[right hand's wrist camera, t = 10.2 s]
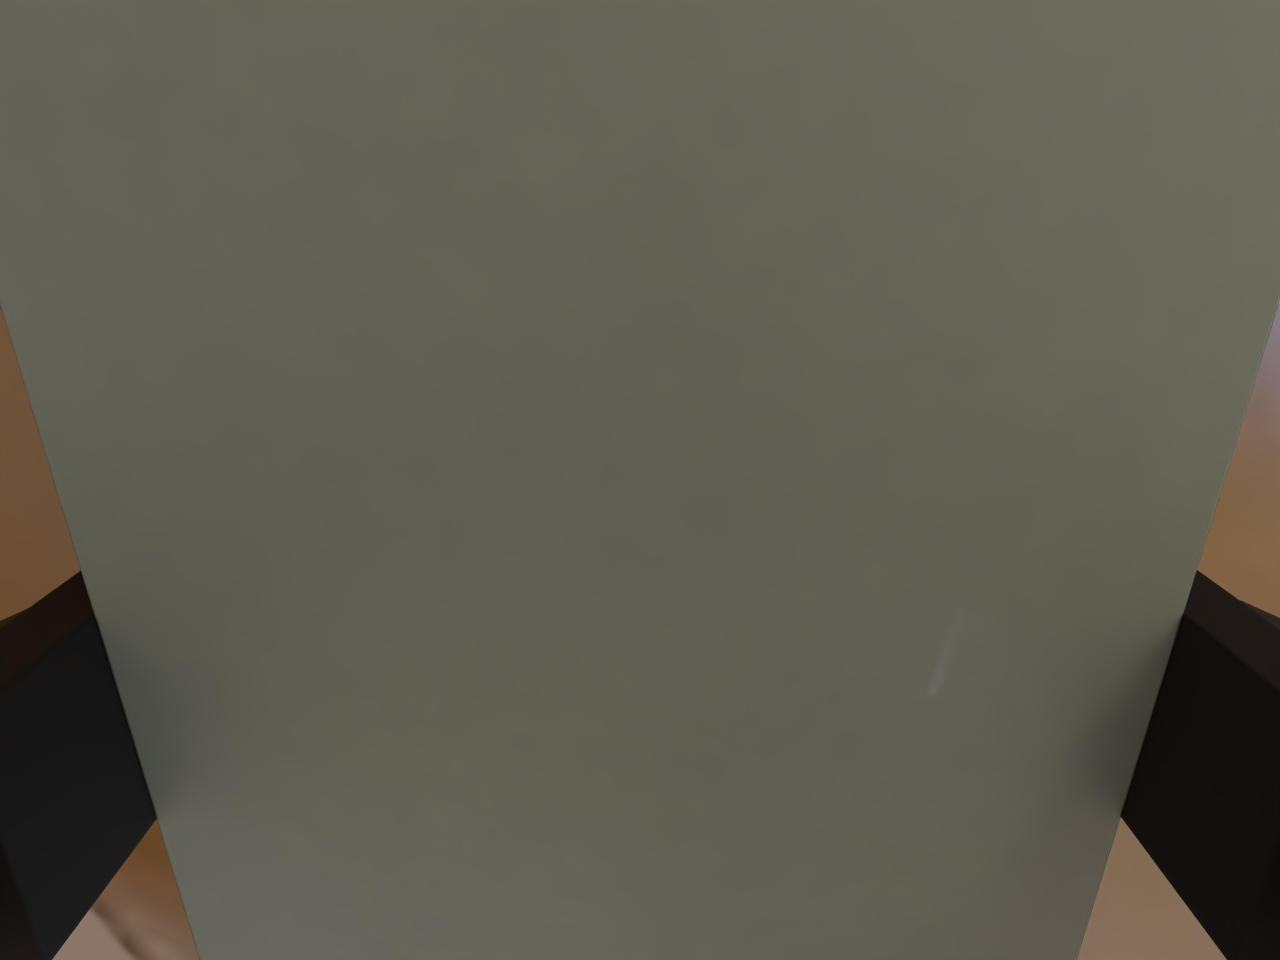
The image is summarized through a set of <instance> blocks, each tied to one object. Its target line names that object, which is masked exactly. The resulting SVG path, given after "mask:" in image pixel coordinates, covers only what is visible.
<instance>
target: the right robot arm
mask: <svg viewBox="0 0 1280 960" xmlns="http://www.w3.org/2000/svg"><path fill="white" fill-rule="evenodd" d="M1121 817H1122V819H1123V820H1124V822H1125V823H1126V824H1127V826H1128V827H1129V828H1130V830H1131V831H1132V832H1133V834H1134V835H1135V836H1136V838H1137V839H1138V840H1139V842H1140V843H1141V844H1142V846H1143V847H1144V848H1145V850H1146V851H1147V853H1148V854H1149V855H1150V857H1151V858H1152V859H1153V861H1154V862H1155V863H1156V865H1157V866H1158V867H1159V869H1160V870H1161V871H1162V873H1163V874H1164V875H1165V877H1166V878H1167V879H1168V881H1169V882H1170V883H1171V885H1172V886H1173V888H1174V889H1175V890H1176V892H1177V893H1178V894H1179V896H1180V897H1181V898H1182V900H1183V901H1184V902H1185V904H1186V905H1187V906H1188V908H1189V909H1190V910H1191V912H1192V913H1193V914H1194V916H1195V917H1196V919H1197V920H1198V921H1199V923H1200V924H1201V925H1202V927H1203V928H1204V929H1205V931H1206V932H1207V933H1208V935H1209V936H1210V937H1211V939H1212V940H1213V941H1214V943H1215V944H1216V945H1217V947H1218V948H1219V949H1220V951H1221V952H1222V954H1223V955H1224V956H1225V958H1226V959H1227V960H1280V618H1278V617H1276V616H1274V615H1272V614H1270V613H1267V612H1265V611H1263V610H1261V609H1259V608H1256V607H1254V606H1252V605H1250V604H1248V603H1245V602H1243V601H1239V600H1238V599H1237V598H1235V597H1234V596H1233V595H1231V594H1230V593H1228V592H1227V591H1226V590H1224V589H1223V588H1221V587H1220V586H1219V585H1217V584H1216V583H1214V582H1213V581H1212V580H1210V579H1209V578H1208V577H1206V576H1205V575H1203V574H1202V573H1201V572H1199V571H1198V570H1197V571H1196V574H1195V577H1194V580H1193V584H1192V587H1191V590H1190V593H1189V597H1188V600H1187V603H1186V606H1185V610H1184V613H1183V615H1182V619H1181V622H1180V625H1179V628H1178V632H1177V635H1176V638H1175V641H1174V645H1173V648H1172V651H1171V654H1170V658H1169V661H1168V664H1167V668H1166V671H1165V674H1164V677H1163V681H1162V684H1161V687H1160V690H1159V694H1158V697H1157V700H1156V703H1155V707H1154V710H1153V713H1152V717H1151V720H1150V723H1149V726H1148V730H1147V733H1146V736H1145V739H1144V743H1143V746H1142V749H1141V752H1140V756H1139V759H1138V762H1137V765H1136V769H1135V772H1134V775H1133V778H1132V782H1131V785H1130V788H1129V791H1128V795H1127V798H1126V801H1125V804H1124V807H1123V811H1122V814H1121ZM156 819H157V818H156V815H155V811H154V808H153V805H152V802H151V798H150V795H149V792H148V789H147V785H146V782H145V779H144V775H143V772H142V769H141V766H140V762H139V759H138V756H137V752H136V749H135V746H134V743H133V739H132V736H131V733H130V729H129V726H128V723H127V720H126V716H125V713H124V710H123V707H122V703H121V700H120V697H119V693H118V690H117V687H116V684H115V680H114V677H113V674H112V670H111V667H110V664H109V661H108V657H107V654H106V651H105V647H104V644H103V641H102V638H101V634H100V631H99V628H98V625H97V621H96V618H95V615H94V611H93V608H92V605H91V602H90V598H89V595H88V592H87V588H86V585H85V582H84V579H83V575H82V572H81V571H80V572H78V573H77V574H76V575H74V576H73V577H71V578H70V579H69V580H67V581H66V582H64V583H63V584H62V585H60V586H59V587H57V588H56V589H55V590H53V591H52V592H51V593H49V594H48V595H46V596H45V597H44V598H42V599H41V600H39V601H38V602H37V603H35V604H34V605H32V606H31V607H30V608H28V609H26V610H24V611H21V612H19V613H17V614H15V615H13V616H11V617H8V618H6V619H4V620H2V621H0V960H52V959H53V958H54V956H55V955H56V953H57V952H58V951H59V950H60V948H61V947H62V945H63V944H64V943H65V941H66V940H67V939H68V937H69V936H70V935H71V933H72V932H73V931H74V929H75V928H76V927H77V925H78V924H79V923H80V921H81V920H82V918H83V917H84V916H85V914H86V913H87V912H88V910H89V909H90V908H91V906H92V905H93V904H94V902H95V901H96V900H97V898H98V897H99V896H100V894H101V893H102V892H103V890H104V889H105V888H106V886H107V885H108V883H109V882H110V881H111V879H112V878H113V877H114V875H115V874H116V873H117V871H118V870H119V869H120V867H121V866H122V865H123V863H124V862H125V861H126V859H127V858H128V857H129V855H130V854H131V853H132V851H133V850H134V848H135V847H136V846H137V844H138V843H139V842H140V840H141V839H142V838H143V836H144V835H145V834H146V832H147V831H148V830H149V828H150V827H151V826H152V824H153V823H154V822H155V820H156Z"/></svg>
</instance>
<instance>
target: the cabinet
mask: <svg viewBox="0 0 1280 960" xmlns="http://www.w3.org/2000/svg"><path fill="white" fill-rule="evenodd" d="M1279 301H1280V0H0V306H1V310H2V313H3V316H4V320H5V323H6V326H7V329H8V333H9V336H10V339H11V342H12V346H13V349H14V352H15V356H16V359H17V362H18V365H19V369H20V372H21V375H22V379H23V382H24V385H25V388H26V392H27V395H28V398H29V402H30V405H31V408H32V411H33V415H34V418H35V421H36V424H37V428H38V431H39V434H40V438H41V441H42V444H43V447H44V451H45V454H46V457H47V461H48V464H49V467H50V470H51V474H52V477H53V480H54V483H55V487H56V490H57V493H58V497H59V500H60V503H61V506H62V510H63V513H64V516H65V520H66V523H67V526H68V529H69V533H70V536H71V539H72V543H73V546H74V549H75V552H76V556H77V559H78V562H79V565H80V569H81V572H82V575H83V579H84V582H85V585H86V588H87V592H88V595H89V598H90V602H91V605H92V608H93V611H94V615H95V618H96V621H97V625H98V628H99V631H100V634H101V638H102V641H103V644H104V647H105V651H106V654H107V657H108V661H109V664H110V667H111V670H112V674H113V677H114V680H115V684H116V687H117V690H118V693H119V697H120V700H121V703H122V707H123V710H124V713H125V716H126V720H127V723H128V726H129V729H130V733H131V736H132V739H133V743H134V746H135V749H136V752H137V756H138V759H139V762H140V766H141V769H142V772H143V775H144V779H145V782H146V785H147V789H148V792H149V795H150V798H151V802H152V805H153V808H154V811H155V815H156V818H157V821H158V825H159V828H160V831H161V834H162V838H163V841H164V844H165V848H166V851H167V854H168V857H169V861H170V864H171V867H172V871H173V874H174V877H175V880H176V884H177V887H178V890H179V893H180V897H181V900H182V903H183V907H184V910H185V913H186V916H187V920H188V923H189V926H190V930H191V933H192V936H193V939H194V943H195V946H196V949H197V952H198V956H199V959H200V960H1077V957H1078V954H1079V950H1080V947H1081V944H1082V941H1083V937H1084V934H1085V931H1086V928H1087V924H1088V921H1089V918H1090V915H1091V911H1092V908H1093V905H1094V902H1095V898H1096V895H1097V892H1098V889H1099V885H1100V882H1101V879H1102V876H1103V872H1104V869H1105V866H1106V863H1107V859H1108V856H1109V853H1110V850H1111V846H1112V843H1113V840H1114V837H1115V833H1116V830H1117V827H1118V824H1119V820H1120V817H1121V814H1122V811H1123V807H1124V804H1125V801H1126V798H1127V795H1128V791H1129V788H1130V785H1131V782H1132V778H1133V775H1134V772H1135V769H1136V765H1137V762H1138V759H1139V756H1140V752H1141V749H1142V746H1143V743H1144V739H1145V736H1146V733H1147V730H1148V726H1149V723H1150V720H1151V717H1152V713H1153V710H1154V707H1155V703H1156V700H1157V697H1158V694H1159V690H1160V687H1161V684H1162V681H1163V677H1164V674H1165V671H1166V668H1167V664H1168V661H1169V658H1170V654H1171V651H1172V648H1173V645H1174V641H1175V638H1176V635H1177V632H1178V628H1179V625H1180V622H1181V619H1182V615H1183V613H1184V610H1185V606H1186V603H1187V600H1188V597H1189V593H1190V590H1191V587H1192V584H1193V580H1194V577H1195V574H1196V571H1197V567H1198V564H1199V561H1200V558H1201V554H1202V551H1203V548H1204V545H1205V541H1206V538H1207V535H1208V532H1209V528H1210V525H1211V522H1212V519H1213V515H1214V512H1215V509H1216V506H1217V502H1218V499H1219V496H1220V493H1221V489H1222V486H1223V483H1224V480H1225V476H1226V473H1227V470H1228V467H1229V463H1230V460H1231V457H1232V454H1233V450H1234V447H1235V444H1236V441H1237V437H1238V434H1239V431H1240V428H1241V425H1242V421H1243V418H1244V415H1245V412H1246V408H1247V405H1248V402H1249V399H1250V395H1251V392H1252V389H1253V386H1254V382H1255V379H1256V376H1257V373H1258V369H1259V366H1260V363H1261V360H1262V356H1263V353H1264V350H1265V347H1266V343H1267V340H1268V337H1269V334H1270V330H1271V327H1272V324H1273V321H1274V317H1275V314H1276V311H1277V308H1278V304H1279Z"/></svg>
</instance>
